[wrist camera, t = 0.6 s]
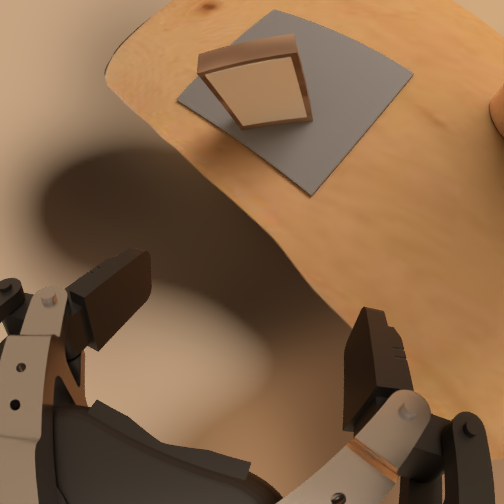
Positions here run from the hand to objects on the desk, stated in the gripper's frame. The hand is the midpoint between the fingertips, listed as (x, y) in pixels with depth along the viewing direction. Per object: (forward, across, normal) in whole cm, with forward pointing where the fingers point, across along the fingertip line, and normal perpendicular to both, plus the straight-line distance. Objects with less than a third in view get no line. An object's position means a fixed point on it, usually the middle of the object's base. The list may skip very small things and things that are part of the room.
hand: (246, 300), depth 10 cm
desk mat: (+35, +4, -14) cm, 38 cm away
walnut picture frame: (+31, +5, -8) cm, 33 cm away
